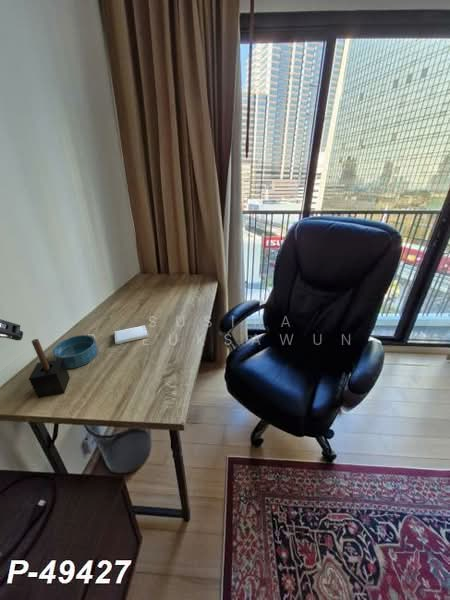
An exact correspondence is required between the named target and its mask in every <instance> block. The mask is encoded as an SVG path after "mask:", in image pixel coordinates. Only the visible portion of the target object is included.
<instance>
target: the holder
mask: <svg viewBox="0 0 450 600" xmlns="http://www.w3.org/2000/svg"><path fill="white" fill-rule="evenodd" d="M47 362H48V364H49V367H50V370H48V371H44V370H43V367H42V365H41V363H40V362H37V363H36V365H35V367H34V368H33V370H32V372H31V374H30V375H29V377H28V381H29V382H30V385H31V387H32V389H33V391H34V393H35V395H36V398H37V399H44V398H48V397H49V398H50V397H53V396H58V395H63V394H65V392H66V390H67V388H68V384H69V382H70V379H71V377H70V374H69V371H68V368H66V366H65V363H64V361H63V359H58V360H55V359H52V360H47Z"/></svg>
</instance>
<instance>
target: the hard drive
mask: <svg viewBox="0 0 450 600" xmlns="http://www.w3.org/2000/svg"><path fill="white" fill-rule="evenodd" d="M148 337H149V335H148V330H147V327H146V325H140V326H134V327H130V328H124V329H121V330H115V331H114V343H115V345H120V344H124V343H129V342H132V341H137V340H141V339H145V338H148Z"/></svg>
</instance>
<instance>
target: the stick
mask: <svg viewBox="0 0 450 600" xmlns="http://www.w3.org/2000/svg"><path fill="white" fill-rule="evenodd" d="M31 344H32V347H33V349H34V351H35V353H36V355H37V358H38V360H39V363H41V365H42V367H43V370H44V371H48V370H50V367H49V364H48V362H47V361H48V359H47V357H46V354H45V352H44V350H43V347H42V345H41V343H40V340H39V338H35V339H32V340H31Z"/></svg>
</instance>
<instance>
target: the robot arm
mask: <svg viewBox="0 0 450 600" xmlns="http://www.w3.org/2000/svg"><path fill="white" fill-rule="evenodd" d="M23 336H24V331H22V330H21V324H17V323H15V322H11V321H9V320H8V321H7V320H4V319H1V318H0V338H1V339H8V340H13V341H21V340H22V339H23Z"/></svg>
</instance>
